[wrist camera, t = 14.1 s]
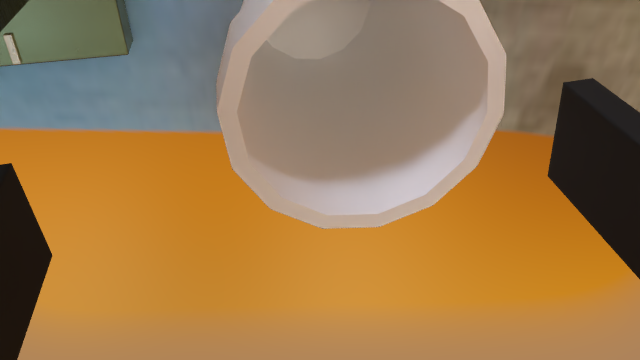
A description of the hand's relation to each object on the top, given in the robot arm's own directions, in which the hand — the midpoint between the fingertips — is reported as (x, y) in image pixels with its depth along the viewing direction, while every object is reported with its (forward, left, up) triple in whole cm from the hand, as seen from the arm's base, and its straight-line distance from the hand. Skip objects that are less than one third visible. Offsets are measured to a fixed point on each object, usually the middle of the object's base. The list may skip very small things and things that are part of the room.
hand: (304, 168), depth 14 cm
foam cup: (+3, -1, -18) cm, 18 cm away
